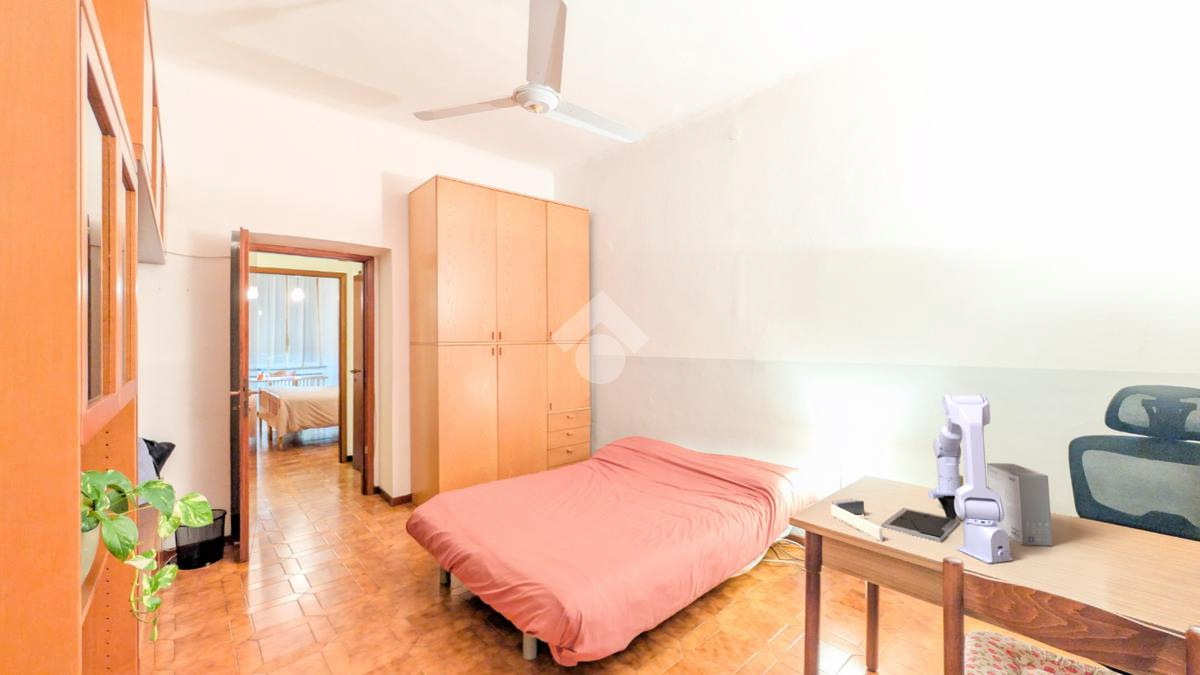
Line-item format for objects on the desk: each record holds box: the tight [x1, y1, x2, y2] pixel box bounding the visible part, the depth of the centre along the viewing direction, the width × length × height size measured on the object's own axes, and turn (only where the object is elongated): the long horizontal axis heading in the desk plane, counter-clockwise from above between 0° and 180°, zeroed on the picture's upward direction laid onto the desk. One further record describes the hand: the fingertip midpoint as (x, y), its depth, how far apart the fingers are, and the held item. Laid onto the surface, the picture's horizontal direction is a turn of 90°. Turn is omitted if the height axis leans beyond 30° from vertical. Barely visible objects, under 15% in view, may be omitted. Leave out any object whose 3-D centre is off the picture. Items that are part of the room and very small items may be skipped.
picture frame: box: [880, 507, 960, 543], centre depth 150 cm, size 16×3×21 cm
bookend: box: [837, 500, 865, 515], centre depth 159 cm, size 3×10×5 cm, turn 100°
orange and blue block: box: [831, 498, 860, 506], centre depth 162 cm, size 4×9×5 cm, turn 100°
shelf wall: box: [830, 504, 883, 540], centre depth 151 cm, size 22×1×4 cm, turn 10°
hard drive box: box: [986, 462, 1053, 547], centre depth 140 cm, size 16×8×20 cm, turn 168°
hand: (951, 518), depth 152 cm, fingers closed
